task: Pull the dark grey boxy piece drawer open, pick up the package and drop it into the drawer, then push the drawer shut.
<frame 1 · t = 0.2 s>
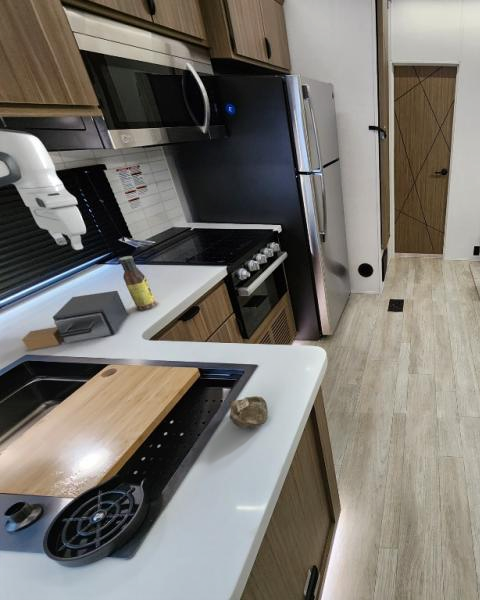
hand: (70, 246, 95), 31 cm above the worktop, tool pointing down, fingers open, 8 cm apart
sauce bottle: (147, 307, 127), on the worktop
dark grey boxy piece: (99, 327, 114), on the worktop
package: (48, 343, 105), on the worktop
drawer: (88, 321, 108), point 5 cm above the worktop, slide at 0.5 cm
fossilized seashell: (250, 419, 78), on the worktop
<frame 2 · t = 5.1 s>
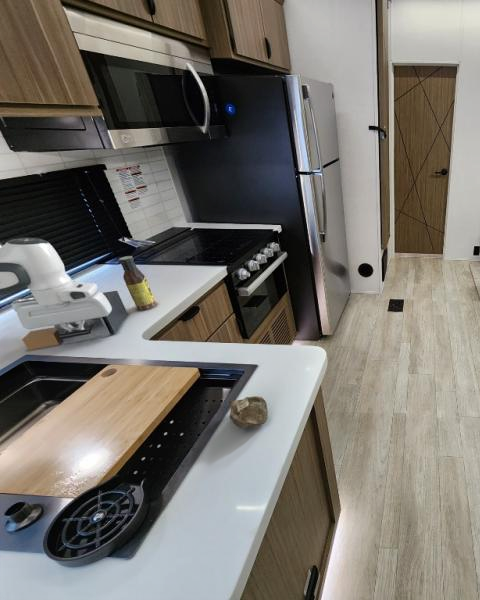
hand: (78, 333, 101), 5 cm above the worktop, tool pointing down, fingers closed
drawer: (87, 323, 107), point 5 cm above the worktop, slide at 1.3 cm, touching gripper
everything else where it was.
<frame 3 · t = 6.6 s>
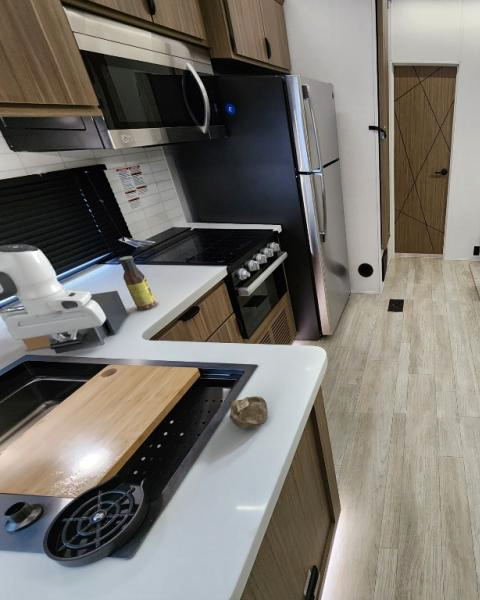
hand: (70, 343, 97), 5 cm above the worktop, tool pointing down, fingers closed
drawer: (80, 331, 102), point 5 cm above the worktop, slide at 6.8 cm, touching gripper
everything else where it was.
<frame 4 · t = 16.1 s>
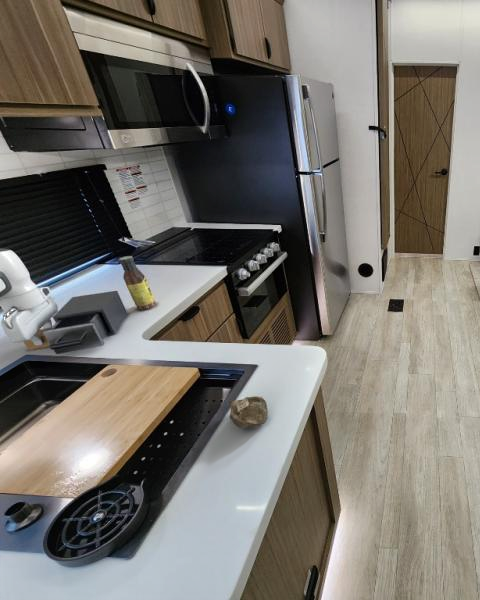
hand: (45, 338, 105), 2 cm above the worktop, tool pointing down, fingers closed on package, 5 cm apart
package: (48, 343, 105), on the worktop, touching gripper
drawer: (80, 332, 102), point 5 cm above the worktop, slide at 7.1 cm
everything else where it was.
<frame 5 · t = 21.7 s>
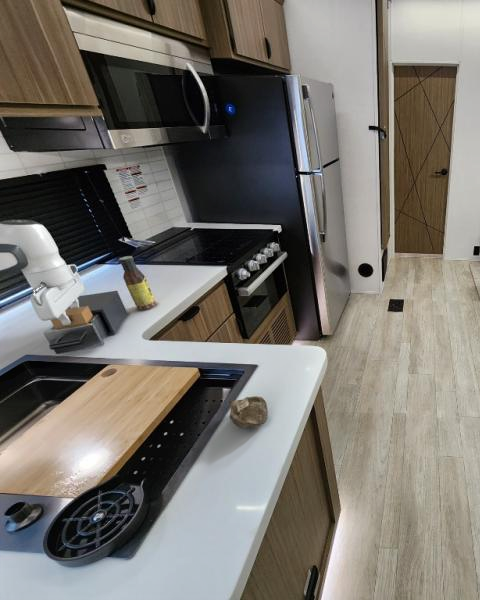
hand: (72, 318, 100), 10 cm above the worktop, tool pointing down, fingers closed on package, 5 cm apart
package: (75, 323, 101), point 8 cm above the worktop, touching gripper
everything else where it was.
when the fingers open (10 cm above the worktop, at t = 30.1 s): package drops 7 cm, resting on drawer.
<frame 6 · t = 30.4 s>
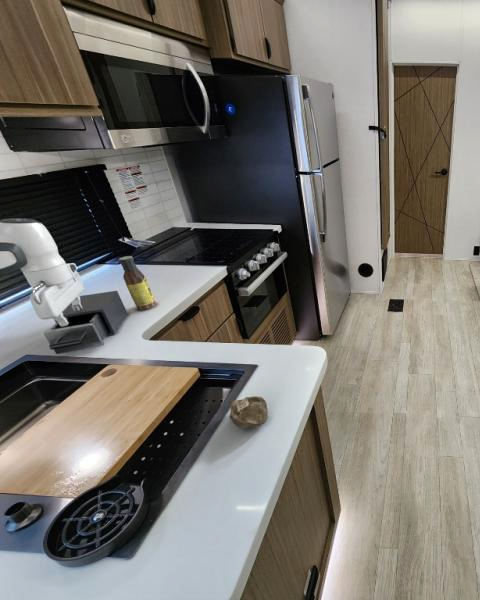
hand: (72, 317, 100), 10 cm above the worktop, tool pointing down, fingers open, 8 cm apart
package: (84, 339, 104), point 2 cm above the worktop, touching drawer
drawer: (80, 332, 102), point 5 cm above the worktop, slide at 7.1 cm, touching package
everything else where it was.
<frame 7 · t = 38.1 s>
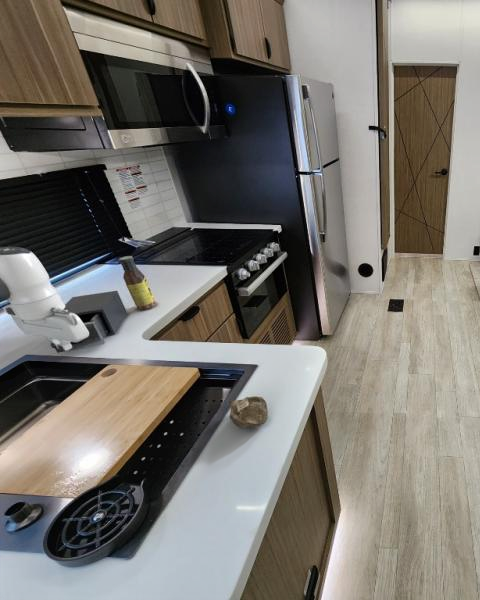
hand: (65, 348, 94), 5 cm above the worktop, tool pointing down, fingers closed
drawer: (81, 330, 103), point 5 cm above the worktop, slide at 6.3 cm, touching gripper, package
everything else where it was.
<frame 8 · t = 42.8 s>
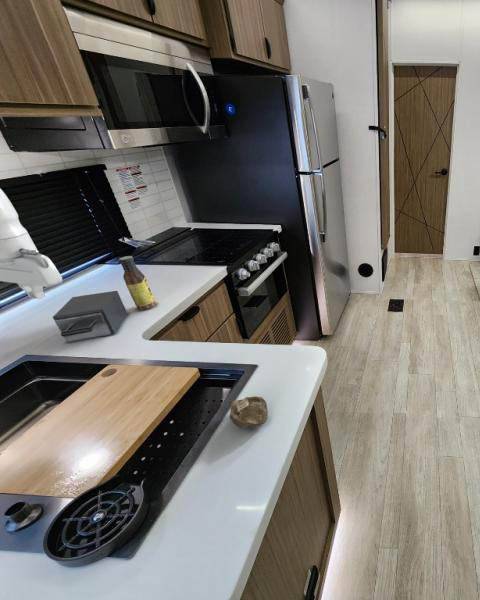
hand: (38, 297, 87), 21 cm above the worktop, tool pointing down, fingers closed
package: (93, 327, 110), point 2 cm above the worktop, touching drawer
drawer: (88, 321, 108), point 5 cm above the worktop, slide at 0.0 cm, touching package
everything else where it was.
at the end: drawer pulled out 7.1 cm at the most during the clip, back to where it started at the end; package inside the target area in the dark grey boxy piece (3.9 cm from its centre), point 2.0 cm above the dark grey boxy piece's base; drawer slide at 0.0 cm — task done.
